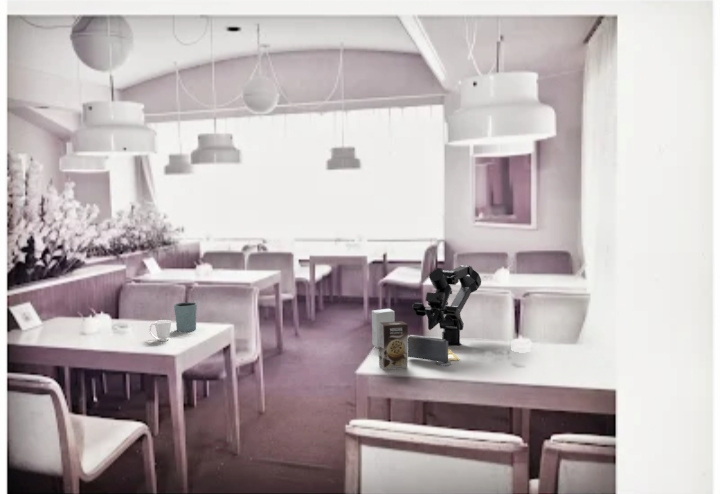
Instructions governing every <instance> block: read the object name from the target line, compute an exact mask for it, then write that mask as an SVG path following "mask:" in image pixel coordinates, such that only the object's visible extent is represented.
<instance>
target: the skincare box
mask: <svg viewBox="0 0 720 494" xmlns="http://www.w3.org/2000/svg"><path fill="white" fill-rule="evenodd" d="M395 314H396V311H395V310H393V309H391V308H382V309H376V310H371V333H372V334H371V335H372V341H371V343H372V346H373V347H375V348H377V349H379V323H380V322H396V321H395V320H396V319H395V318H396V317H395V316H396V315H395Z"/></svg>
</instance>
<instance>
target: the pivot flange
mask: <svg viewBox="0 0 720 494" xmlns="http://www.w3.org/2000/svg"><path fill="white" fill-rule="evenodd" d="M437 365H438V366H440V367H449V366H452V361H448V362H439V361H437Z"/></svg>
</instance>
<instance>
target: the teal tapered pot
mask: <svg viewBox="0 0 720 494" xmlns="http://www.w3.org/2000/svg"><path fill="white" fill-rule="evenodd" d="M197 305H198V303H197V302H188V301H187V302H179V303H175V304H173V307H174V315H175V321H176V323H175V325H176V326H175V327H176V331H177V332H179V333H181V332H182V333H184V332H185V333H187V332H193V331H196V330H197V309H198V308H197V307H198V306H197Z"/></svg>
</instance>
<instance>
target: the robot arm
mask: <svg viewBox="0 0 720 494" xmlns="http://www.w3.org/2000/svg"><path fill="white" fill-rule="evenodd" d="M428 278H429V280H430V282H431V285H432V287H433V289H435V292H426V296H425V302H427V306H425V304H424V303H421V302H413V304H412V306H411V309H412V311H413V313H414V314H415V316H416V317H425V316H427V328H428V330H429V331H431V330H433V329H434V328H435V327H436V326H437V325H438V326H439V330H440V329H441V330H442V329H443V331H442V332H441V339H445V340H446V341H448V346H458V345H459V346H460V345H461V344H462V343H461V342H460V341H461V338H460V337H461V331H463V330H464V322H463V320H462V317H461V313H462V311H463V308H464V307H465V305H466V303H467V301H468V299H469V298H470V296H471V294H472V293H475V292H476V291H477V290H478V289H479V288H480V287H481V285H482V278H481V276H480V274H479V273H478V271H476V270H474V269H473V267H472V265H466V264H465V265H464V264H463V265H462V264H461V265H459V266H458V267H455V268H453V269H451V270H449V269H447V270H446V269H443V268H442V267H436V269H434V270H433V271H432V272H430V273H429V275H428ZM458 283H460V288H459V290H458V292H457V293H456V295H455V296H454V299H453V300H452V302H451V304H450V305H449V302H448V300H449V297H450V295H453V290H452V287H451V285H452V286H455V285H457V284H458Z"/></svg>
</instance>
